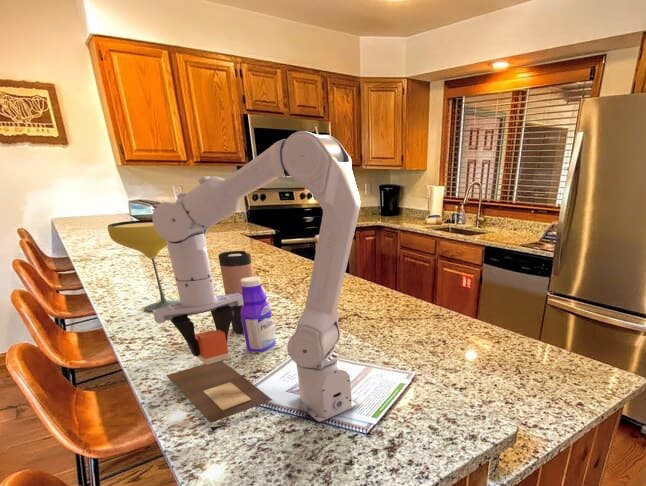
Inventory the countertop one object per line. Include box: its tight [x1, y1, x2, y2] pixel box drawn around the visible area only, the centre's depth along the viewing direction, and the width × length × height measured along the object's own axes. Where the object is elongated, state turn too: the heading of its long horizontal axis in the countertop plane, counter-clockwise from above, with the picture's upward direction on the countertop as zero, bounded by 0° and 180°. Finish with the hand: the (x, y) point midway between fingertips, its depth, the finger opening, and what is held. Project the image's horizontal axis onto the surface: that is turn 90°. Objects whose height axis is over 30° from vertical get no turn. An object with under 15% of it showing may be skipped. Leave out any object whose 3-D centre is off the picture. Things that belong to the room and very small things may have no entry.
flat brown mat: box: [166, 360, 273, 431], centre depth 82 cm, size 24×11×2 cm, turn 43°
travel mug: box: [217, 250, 255, 335], centre depth 110 cm, size 8×8×20 cm
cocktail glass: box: [107, 219, 181, 313], centre depth 127 cm, size 18×18×25 cm
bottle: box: [241, 276, 277, 353], centre depth 97 cm, size 7×6×17 cm
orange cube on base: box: [195, 329, 232, 365], centre depth 77 cm, size 8×4×5 cm, turn 43°
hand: (210, 350), depth 78 cm, fingers closed on orange cube on base, 4 cm apart
